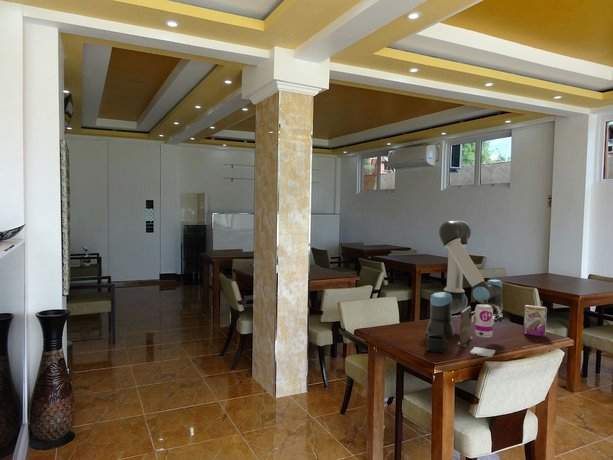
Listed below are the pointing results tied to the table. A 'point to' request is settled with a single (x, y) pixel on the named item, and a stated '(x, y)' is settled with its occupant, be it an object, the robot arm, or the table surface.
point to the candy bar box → (535, 320)
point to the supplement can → (483, 320)
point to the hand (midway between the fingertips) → (481, 320)
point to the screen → (465, 327)
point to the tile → (482, 351)
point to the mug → (436, 343)
